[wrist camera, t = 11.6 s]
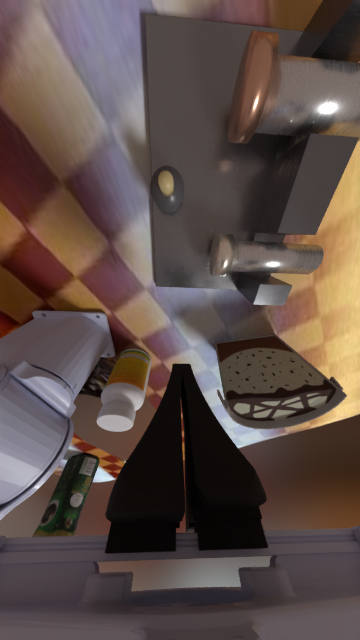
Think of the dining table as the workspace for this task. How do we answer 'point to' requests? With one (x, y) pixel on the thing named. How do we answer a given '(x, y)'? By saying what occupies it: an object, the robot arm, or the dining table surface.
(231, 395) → the food container
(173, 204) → the potentiometer
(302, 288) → the dining table surface
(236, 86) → the copper-capped metal rod
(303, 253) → the silver long cylinder
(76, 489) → the coffee jar
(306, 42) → the mount
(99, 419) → the supplement bottle
